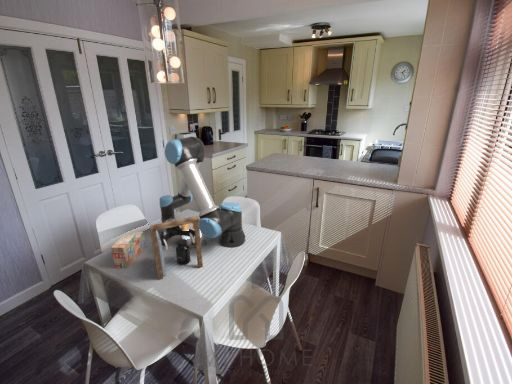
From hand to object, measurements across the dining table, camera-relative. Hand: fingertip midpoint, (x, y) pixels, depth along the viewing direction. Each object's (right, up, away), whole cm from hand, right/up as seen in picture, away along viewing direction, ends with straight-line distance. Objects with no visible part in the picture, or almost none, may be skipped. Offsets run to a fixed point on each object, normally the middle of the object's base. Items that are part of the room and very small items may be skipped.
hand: (180, 244), depth 138 cm
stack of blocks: (-27, -8, +5) cm, 29 cm away
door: (-8, -11, -5) cm, 14 cm away
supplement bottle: (+2, -9, 0) cm, 9 cm away
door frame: (+3, -12, -8) cm, 15 cm away
